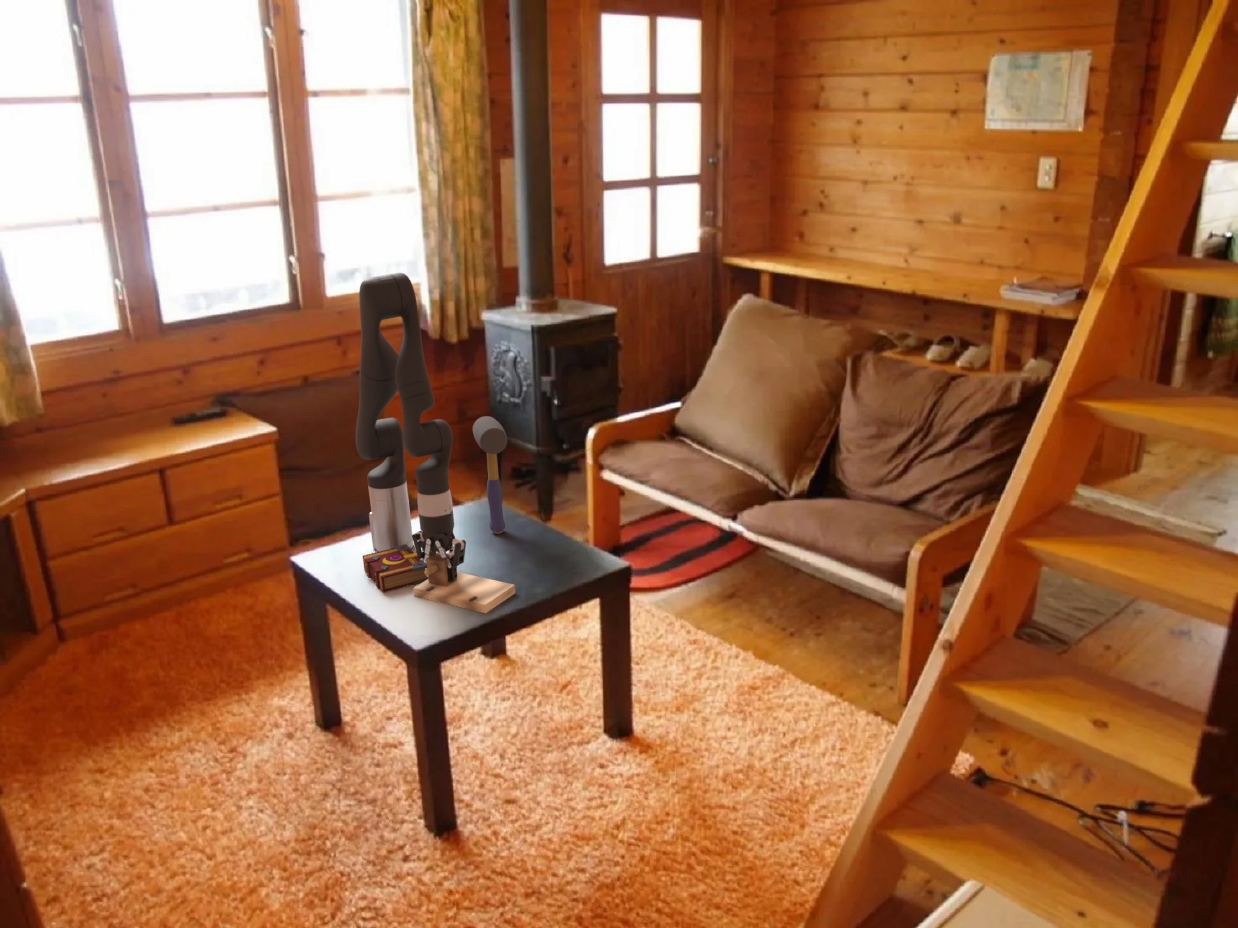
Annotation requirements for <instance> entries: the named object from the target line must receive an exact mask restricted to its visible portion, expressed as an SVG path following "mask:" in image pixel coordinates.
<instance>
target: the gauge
mask: <svg viewBox="0 0 1238 928" xmlns="http://www.w3.org/2000/svg"><path fill="white" fill-rule="evenodd" d="M450 560H451V557H450ZM451 561H452V560H451ZM426 562H427V568H426V570H425V571H424V573H425V575H426V576H427V577H428V581H429V583H431V584H436V585H440V586H444V587H447V586H448V585H450V584H452V583H453V582H452V583H450V582H448V575H447V565H446V561H445V560H444V559H443V558H442V556H441V554H440V553H439V552H436V554H433V555H431V557H428V558H426ZM455 581H457V579H456V580H455ZM455 581H454V582H455Z"/></svg>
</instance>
